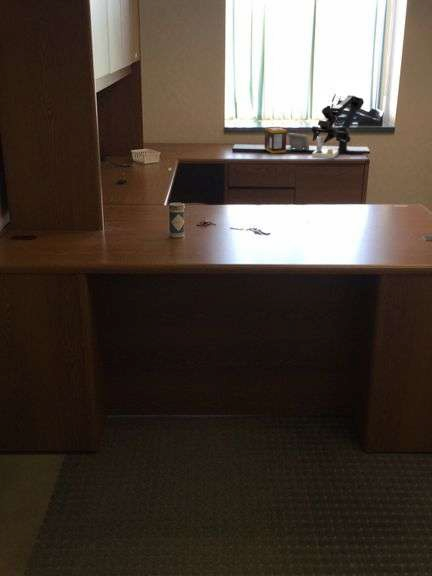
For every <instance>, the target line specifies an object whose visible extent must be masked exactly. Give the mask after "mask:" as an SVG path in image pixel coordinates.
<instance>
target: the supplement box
mask: <svg viewBox="0 0 432 576" xmlns="http://www.w3.org/2000/svg"><path fill="white" fill-rule="evenodd" d="M264 148H265V149H267V150H266V151H267V152H269V153H271V154H280V153H281V154H282V153H287V129H286V128H282V127H280V126H266V127H264ZM265 149H264V150H265Z"/></svg>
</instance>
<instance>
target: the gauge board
mask: <svg viewBox="0 0 432 576" xmlns="http://www.w3.org/2000/svg"><path fill="white" fill-rule="evenodd" d="M316 151H317V149H315V150H314V151H313V152H312V155H311V156H312V157H314V158H325V159H334V158H335V157H336V156H338V154H339V150H337V149H333V148H322V153H316Z"/></svg>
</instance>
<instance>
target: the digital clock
mask: <svg viewBox="0 0 432 576" xmlns="http://www.w3.org/2000/svg"><path fill="white" fill-rule="evenodd" d="M308 138H309V137H308V135H307V134H299V133H292V132H289V133H288V139H289V140H288V141H289V148H295V149H303V148H305V149H303V150H310V142H309V139H308ZM295 149H294V150H295Z"/></svg>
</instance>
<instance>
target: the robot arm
mask: <svg viewBox="0 0 432 576" xmlns="http://www.w3.org/2000/svg"><path fill="white" fill-rule="evenodd" d="M364 103H365V101H364V99H363V98H362V97H358V96H355V95H351V94H349V95H347V96H346V97H345V99H344V100H342V101H341V102H340V103H338V104H337V105H334V106H330V105H327V106H325V107H323V108H322V110H321V113H322V115H323V116H324V118H325V119H326V120H323V119H322V120H321V119H319V120H318V124H317V126H313V125H312V127H311V128H310V129H311V131H312V133H313V136H312V142H315V141H316V140H317V137H318V136H320V133H322V134H327V135H326V136H325V138H324V139H323V143H324V144H326V143H327V142H329V141H330V140H333V139H335V140H336V141H337V142H338V148H337V149H336V150H338V151H340V150H341V151H343V152H346V150H347V149H348V143H349V142H351V138H352V137H350V127H351V125H352V123H353V120H354V119H355V116H356V114H357V112H358V111H359V110H361V108H362V106H364ZM348 107H350V108H349V111H348V113H347V115H346V117H345V119H344V121H343V124H342V126H338V128H337V130H336V129H335V128H334V127H333V126H334V125H335V123H338V118H337V117H339V118H340V117H341V116H342V115H343V113H344V110H346V109H347V108H348ZM318 126H319V127H318ZM347 151H348V150H347Z"/></svg>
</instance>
